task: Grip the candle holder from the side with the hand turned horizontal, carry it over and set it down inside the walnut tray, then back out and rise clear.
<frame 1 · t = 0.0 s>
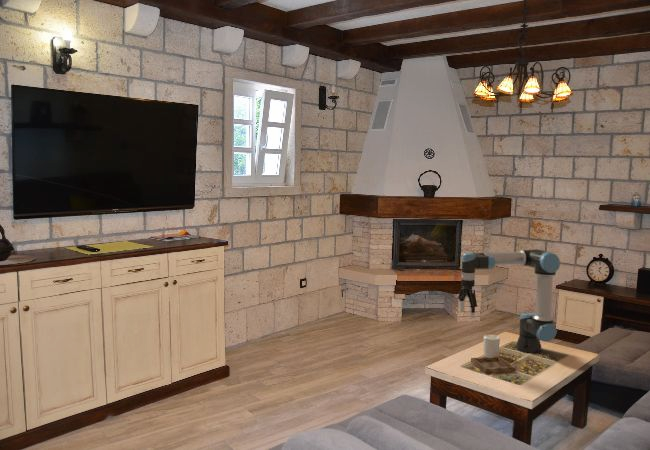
hand: (466, 314, 309), 28 cm above the table, tool pointing down, fingers open, 13 cm apart
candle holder: (490, 356, 321), on the table
walnut tray: (492, 366, 303), on the table
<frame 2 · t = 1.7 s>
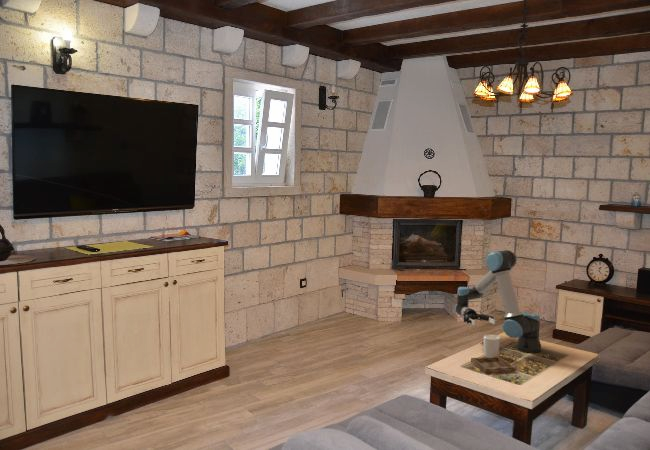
hand: (484, 322, 328), 18 cm above the table, tool horizontal, fingers open, 13 cm apart
nothing on the table moved.
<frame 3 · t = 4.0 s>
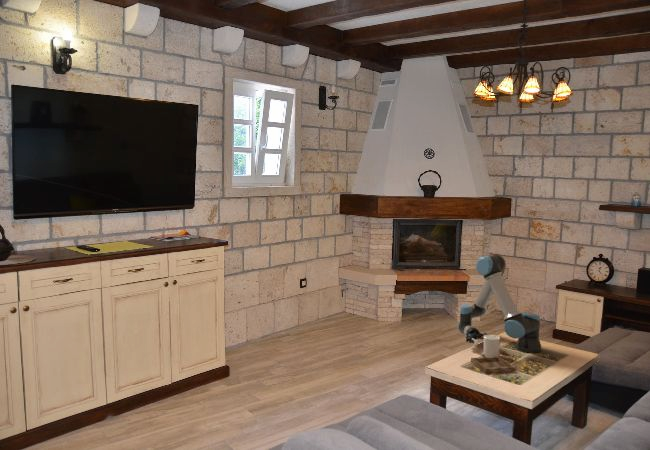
hand: (487, 343, 324), 7 cm above the table, tool horizontal, fingers open, 13 cm apart
nothing on the table moved.
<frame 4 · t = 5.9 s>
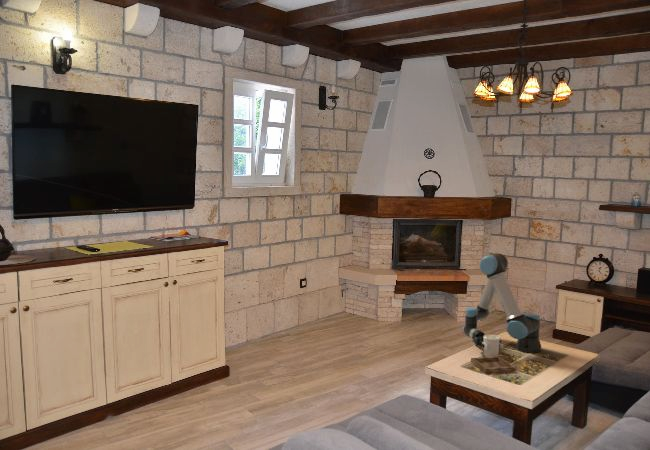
hand: (495, 347, 315), 7 cm above the table, tool horizontal, fingers closed on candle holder, 9 cm apart
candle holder: (490, 356, 321), on the table, touching gripper
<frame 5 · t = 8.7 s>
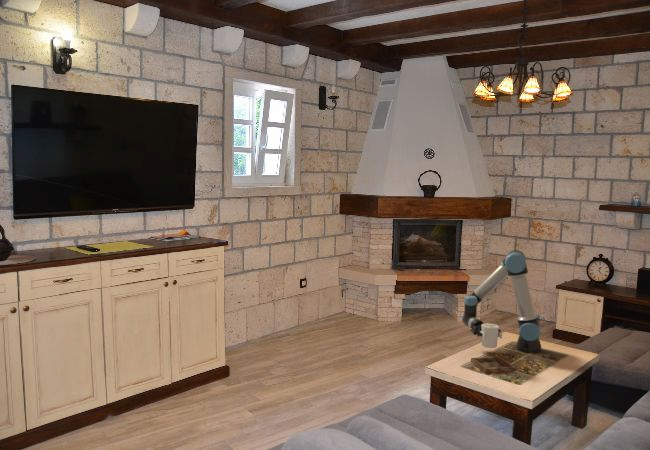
hand: (493, 336, 301), 18 cm above the table, tool horizontal, fingers closed on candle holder, 9 cm apart
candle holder: (489, 346, 306), point 11 cm above the table, touching gripper
when the fingers open (9 cm above the table, at t = 11.6 s): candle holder drops 1 cm, resting on walnut tray.
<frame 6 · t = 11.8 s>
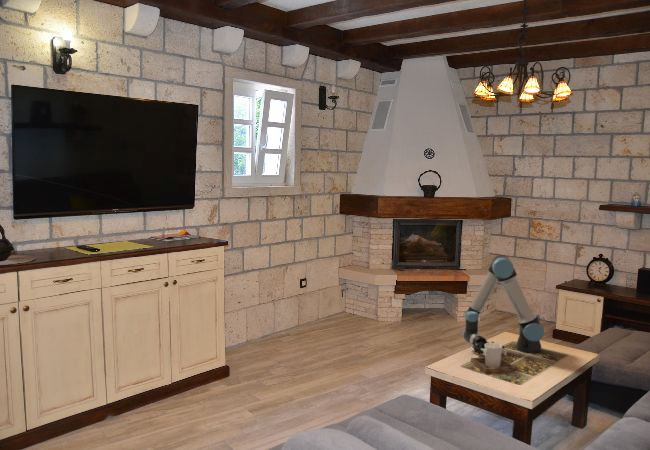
hand: (496, 353, 298), 9 cm above the table, tool horizontal, fingers open, 11 cm apart
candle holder: (492, 365, 303), resting on walnut tray
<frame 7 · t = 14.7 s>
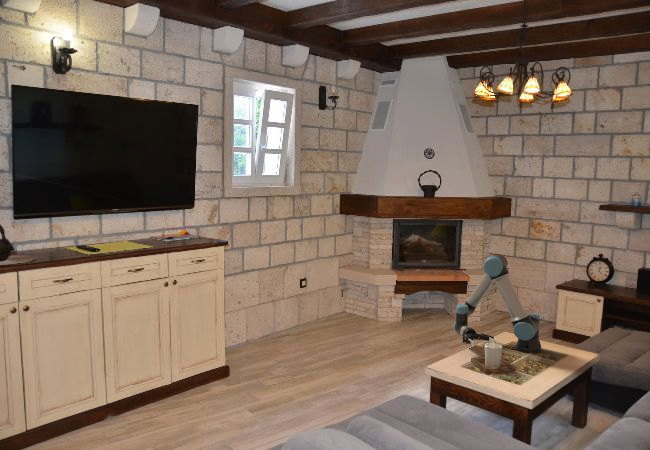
hand: (484, 343, 311), 10 cm above the table, tool horizontal, fingers open, 13 cm apart
nothing on the table moved.
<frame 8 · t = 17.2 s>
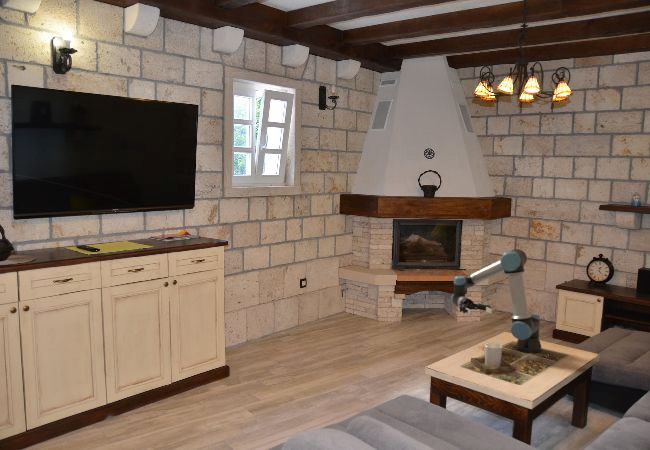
hand: (481, 312, 315), 28 cm above the table, tool horizontal, fingers open, 13 cm apart
nothing on the table moved.
at the end: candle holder 0.1 cm off-centre on the walnut tray, point 0.4 cm above the walnut tray's base; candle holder tilted 0°; the gripper is holding nothing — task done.
